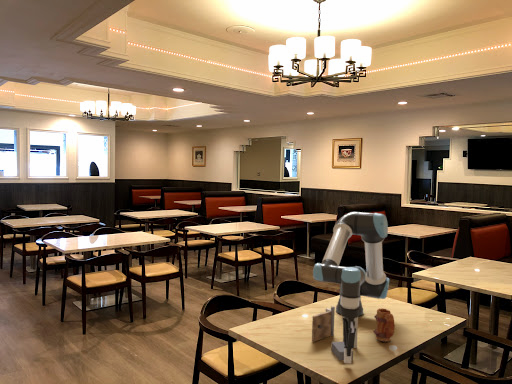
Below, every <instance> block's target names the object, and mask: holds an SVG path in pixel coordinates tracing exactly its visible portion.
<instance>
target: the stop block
mask: <svg viewBox="0 0 512 384" xmlns="http://www.w3.org/2000/svg"><path fill="white" fill-rule="evenodd" d="M330 346H331V348H330V351H331V352H332V353H333V354H334V356H335V357H336V359H337V360H338V361H344V346H345V345H344V342H343V341H331V344H330ZM353 359H354V350H352V358H351V361H352V360H353Z"/></svg>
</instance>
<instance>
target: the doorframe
mask: <svg viewBox="0 0 512 384" xmlns="http://www.w3.org/2000/svg"><path fill="white" fill-rule="evenodd" d="M327 311H332V312H331V336H330V337H333V336H334V334H335V312H336V306H331V307H330V308H329V307H328V308H325V312H327ZM354 321H355V326H354V328H356V333H355V340H354V348H353V349H356V348H357V347H358V331H359V330H358V328H359V327H358V326H359V316H358V317H357V318H355V319H354Z"/></svg>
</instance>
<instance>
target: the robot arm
mask: <svg viewBox="0 0 512 384" xmlns="http://www.w3.org/2000/svg"><path fill="white" fill-rule="evenodd" d="M388 223H389V222H388V220H387V216H386V215H385V214H383V213H378V212H374V213H372V212H363V211H362V212H360V211H350V212H348V213H346V214H344V215H343V216H341V217H339V219H338V220H337V221H336V222H335V224H334V227H333V229H332V232H333V233H332V237H331V238H330V241H329V244H328V246H327V248H326V251H325V254H324V256H323V258H322V262H321V263H320V262H317V263H315V264H314V266H313V267H312V268H313V269H312V276H313V280H315V281H318V282H322V283H324V282H325V283H331V284H332V283H333V284H339V298H338V301H337V304H336V306H335V312H336V313H337V314H339V315H340V316H341V317H342V342H344V345H345V346H344V360H343V363H344V364H352V360H351V358H352V351H353V349H355V348H354V340H355V333H356V328H354V326H355V321H354V319H355V318H357V317H358V318H359V317H360V316H363V315H364V308H363V304H362V303H363V302H362V299H361V297H367V298H373V299H378V300H379V299H380V300H381V299H382V300H385V299H386V298H387V296H388V291H389V286H390V278H389V277H387V275H386V273H385V272H384V264H383V261H384V260H383V242H384V241H385V238H387V237H388V233H389V228H388V226H389V224H388ZM352 235H356V236H360V238H361V241H363V242H364V251H365V253H364V255H365V266H366V267H365V268H366V269H364V268H362V267H361V266H357V265H355V266H343V265H342V266H340V263H341V260H342V257H343V254H344V251H345V249H346V246H347V243H348V240H349V239H350V238H351V237H352Z"/></svg>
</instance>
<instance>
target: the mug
mask: <svg viewBox="0 0 512 384" xmlns="http://www.w3.org/2000/svg"><path fill="white" fill-rule="evenodd" d="M374 319H375V320H376V323H375V324H376V325H375V329H374V330H373V331H372V332H373V333H374V336H375V338H376V340H377V341H380V342H385V343H386V342H390V341H391V338H393V335H394V333H395V329H396V327H395V317H394V315H393V314H392V313H391V310H389V309H387V308H378V309H377V310H376V314H375V315H374Z"/></svg>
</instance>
